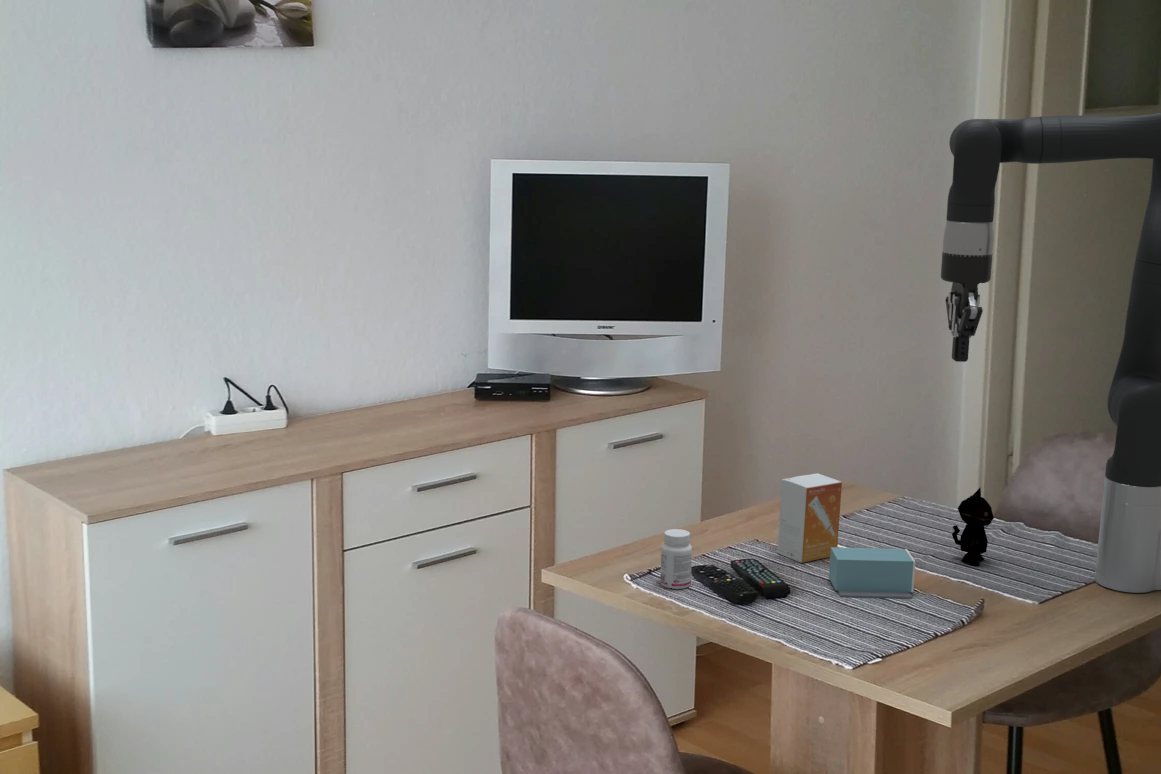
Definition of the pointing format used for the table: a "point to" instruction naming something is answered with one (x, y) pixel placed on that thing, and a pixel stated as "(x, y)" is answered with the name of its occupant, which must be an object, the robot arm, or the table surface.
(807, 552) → the small box
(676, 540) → the pill bottle
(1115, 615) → the table surface
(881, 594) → the felt pad
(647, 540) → the table surface
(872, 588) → the teal block
